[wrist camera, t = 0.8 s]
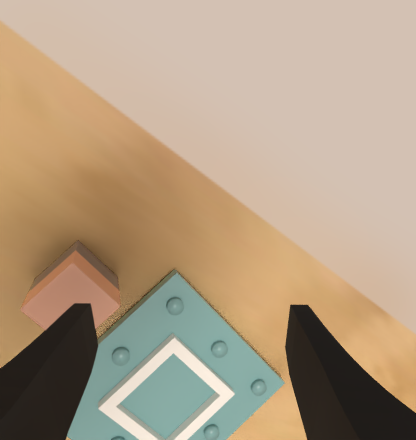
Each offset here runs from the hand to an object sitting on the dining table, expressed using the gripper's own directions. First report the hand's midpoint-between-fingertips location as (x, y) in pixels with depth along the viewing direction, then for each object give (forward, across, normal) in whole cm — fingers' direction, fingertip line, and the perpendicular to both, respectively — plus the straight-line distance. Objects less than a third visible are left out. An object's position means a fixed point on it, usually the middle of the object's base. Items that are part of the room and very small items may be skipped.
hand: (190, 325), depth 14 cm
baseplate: (+13, +3, +19) cm, 23 cm away
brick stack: (+14, +10, +8) cm, 19 cm away
